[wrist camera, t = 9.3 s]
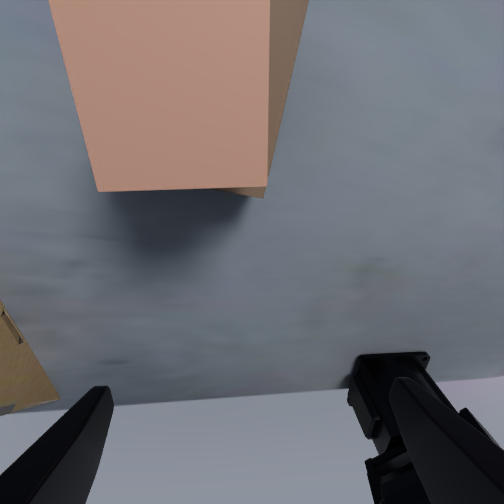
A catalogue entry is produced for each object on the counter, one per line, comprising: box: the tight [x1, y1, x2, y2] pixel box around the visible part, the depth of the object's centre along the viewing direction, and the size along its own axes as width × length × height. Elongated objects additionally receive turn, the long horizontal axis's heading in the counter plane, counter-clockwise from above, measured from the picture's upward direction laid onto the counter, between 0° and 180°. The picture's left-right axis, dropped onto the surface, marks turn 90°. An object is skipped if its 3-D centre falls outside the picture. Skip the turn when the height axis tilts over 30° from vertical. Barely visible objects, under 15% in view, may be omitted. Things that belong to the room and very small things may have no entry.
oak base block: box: [208, 0, 309, 198], centre depth 14 cm, size 8×8×4 cm
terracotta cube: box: [48, 0, 270, 192], centre depth 10 cm, size 5×5×5 cm
